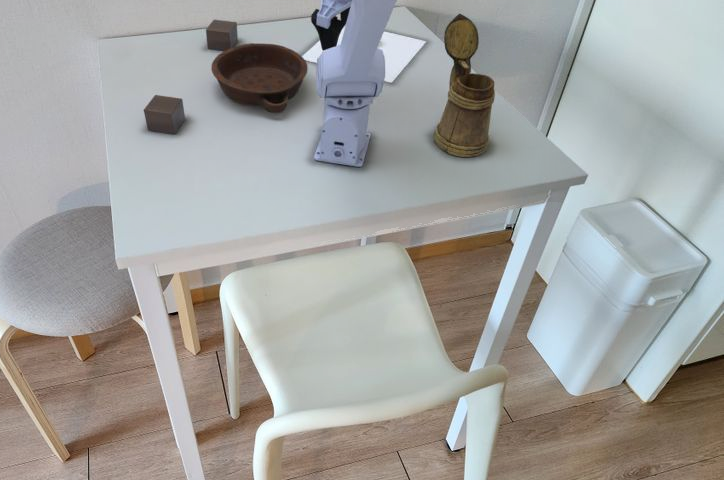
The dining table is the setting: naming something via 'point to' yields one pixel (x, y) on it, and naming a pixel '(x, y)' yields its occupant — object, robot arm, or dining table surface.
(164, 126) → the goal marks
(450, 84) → the wooden mug
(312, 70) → the dining table surface
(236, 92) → the dish
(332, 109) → the robot arm
